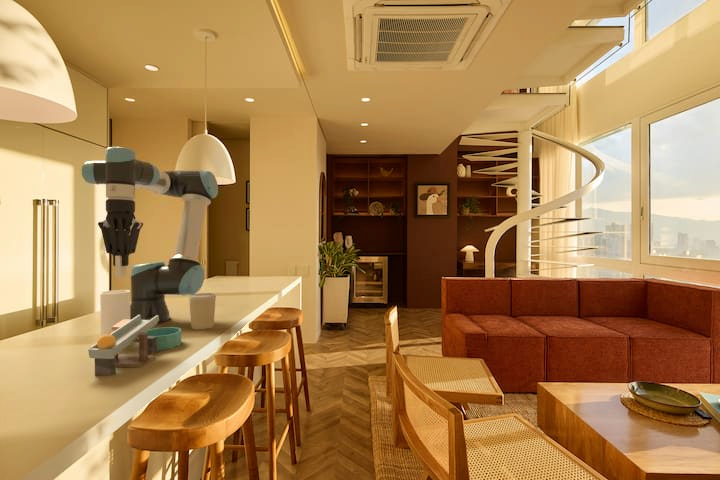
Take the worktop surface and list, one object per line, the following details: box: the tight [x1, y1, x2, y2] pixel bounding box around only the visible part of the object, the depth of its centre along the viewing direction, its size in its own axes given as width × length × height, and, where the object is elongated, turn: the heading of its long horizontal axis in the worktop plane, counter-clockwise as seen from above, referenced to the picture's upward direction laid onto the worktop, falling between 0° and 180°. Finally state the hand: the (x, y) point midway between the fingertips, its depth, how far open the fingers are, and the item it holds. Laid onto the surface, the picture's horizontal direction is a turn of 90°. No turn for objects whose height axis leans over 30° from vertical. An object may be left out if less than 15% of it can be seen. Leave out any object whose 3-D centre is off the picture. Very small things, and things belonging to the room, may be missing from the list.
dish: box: [146, 326, 182, 351], centre depth 118 cm, size 11×11×4 cm
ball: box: [96, 334, 116, 349], centre depth 95 cm, size 4×4×4 cm
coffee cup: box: [188, 292, 217, 330], centre depth 140 cm, size 9×9×12 cm
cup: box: [99, 289, 131, 337], centre depth 123 cm, size 8×8×16 cm
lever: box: [87, 315, 159, 359], centre depth 102 cm, size 20×11×4 cm, turn 176°
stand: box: [94, 333, 157, 377], centre depth 103 cm, size 19×11×8 cm, turn 176°
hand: (120, 276), depth 113 cm, fingers closed
